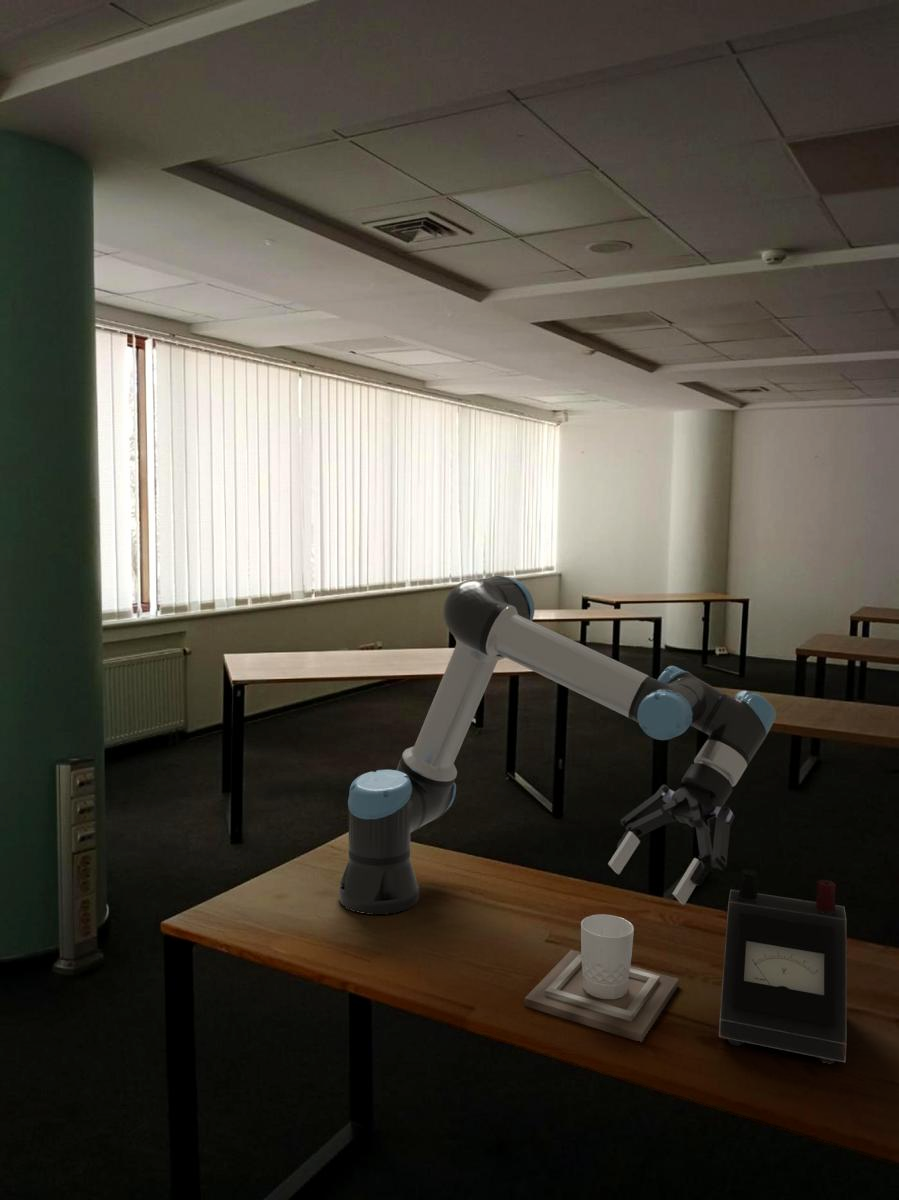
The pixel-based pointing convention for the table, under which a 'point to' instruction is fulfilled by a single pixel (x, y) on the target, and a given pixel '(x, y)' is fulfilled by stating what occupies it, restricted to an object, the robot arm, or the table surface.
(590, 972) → the white cup
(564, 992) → the framed square tray
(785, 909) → the voltmeter
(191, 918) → the table surface
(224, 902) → the table surface
